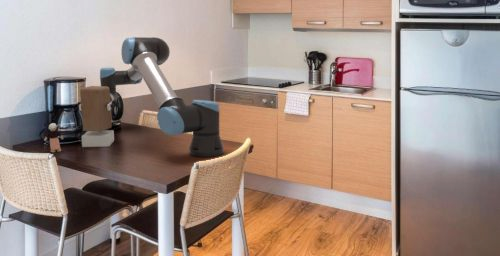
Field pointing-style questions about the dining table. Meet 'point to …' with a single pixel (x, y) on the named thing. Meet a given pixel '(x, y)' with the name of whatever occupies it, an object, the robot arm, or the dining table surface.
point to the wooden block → (95, 108)
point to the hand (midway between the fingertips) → (94, 107)
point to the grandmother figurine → (53, 138)
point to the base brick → (98, 138)
